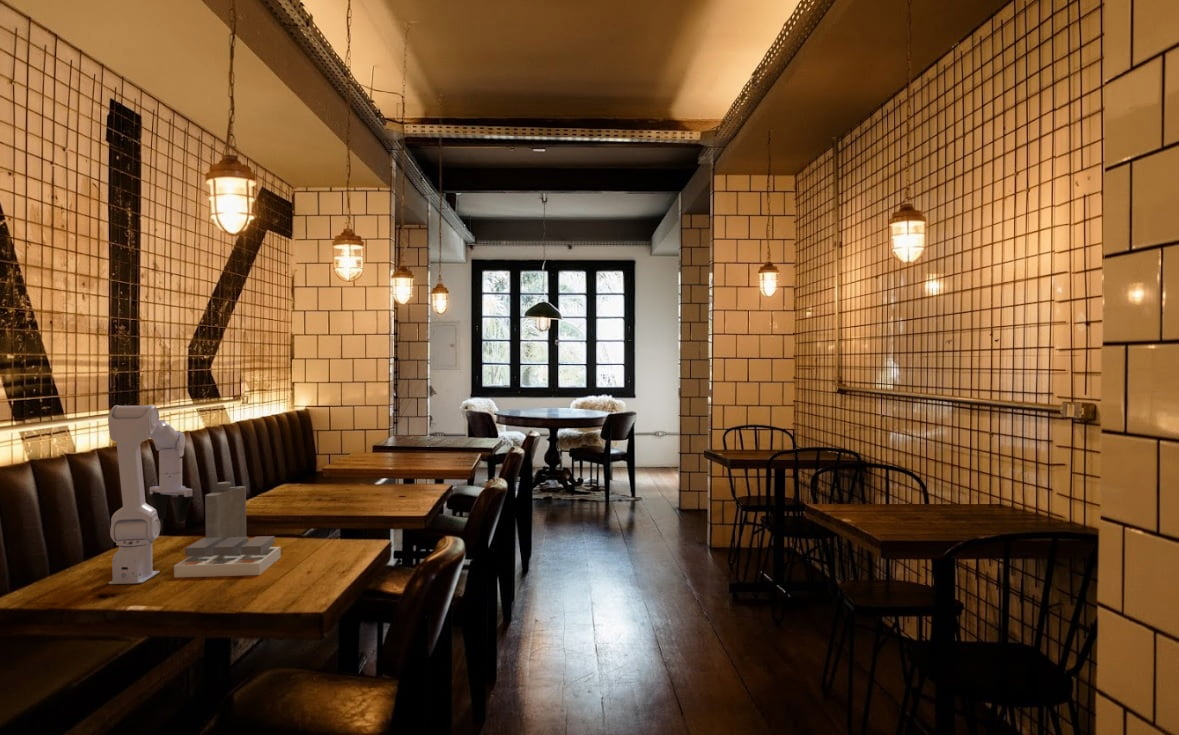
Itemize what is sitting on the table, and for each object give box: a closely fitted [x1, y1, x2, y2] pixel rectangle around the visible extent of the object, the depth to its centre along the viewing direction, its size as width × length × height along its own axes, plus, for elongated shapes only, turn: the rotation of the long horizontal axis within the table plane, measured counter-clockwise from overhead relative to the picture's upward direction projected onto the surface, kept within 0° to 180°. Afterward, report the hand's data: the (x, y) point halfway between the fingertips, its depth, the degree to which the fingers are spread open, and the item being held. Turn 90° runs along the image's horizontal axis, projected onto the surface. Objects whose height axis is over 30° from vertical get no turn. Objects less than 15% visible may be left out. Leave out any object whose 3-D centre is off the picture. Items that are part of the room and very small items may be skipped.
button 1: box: [184, 537, 222, 557], centre depth 200 cm, size 11×5×2 cm, turn 5°
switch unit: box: [173, 546, 282, 578], centre depth 200 cm, size 17×21×3 cm
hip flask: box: [204, 481, 247, 542], centre depth 217 cm, size 16×4×20 cm, turn 170°
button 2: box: [241, 535, 275, 555], centre depth 202 cm, size 11×5×2 cm, turn 5°
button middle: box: [213, 536, 249, 556], centre depth 201 cm, size 11×5×2 cm, turn 5°
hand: (171, 520), depth 213 cm, fingers open, 7 cm apart
